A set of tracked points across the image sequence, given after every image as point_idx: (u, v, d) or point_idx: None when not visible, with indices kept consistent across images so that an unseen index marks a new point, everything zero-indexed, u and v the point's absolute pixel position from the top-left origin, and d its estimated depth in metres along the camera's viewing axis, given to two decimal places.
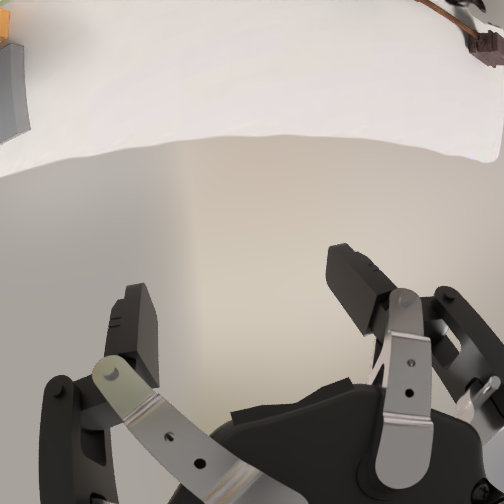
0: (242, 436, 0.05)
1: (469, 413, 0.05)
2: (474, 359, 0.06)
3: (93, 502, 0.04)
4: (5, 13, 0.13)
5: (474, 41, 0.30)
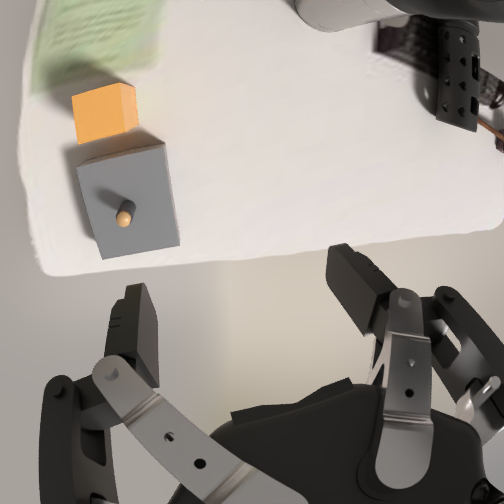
0: (242, 436, 0.05)
1: (469, 413, 0.05)
2: (474, 359, 0.06)
3: (93, 502, 0.04)
4: (133, 91, 0.28)
5: (502, 140, 0.46)
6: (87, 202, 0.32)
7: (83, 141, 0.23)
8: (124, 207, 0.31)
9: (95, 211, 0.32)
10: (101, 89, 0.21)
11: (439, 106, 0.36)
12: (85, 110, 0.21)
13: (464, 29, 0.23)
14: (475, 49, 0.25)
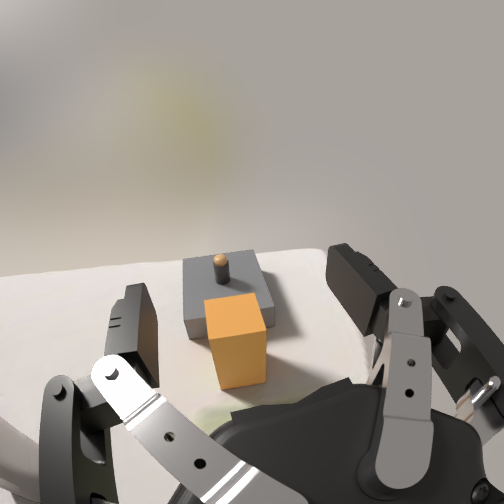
0: (242, 436, 0.05)
1: (469, 413, 0.05)
2: (474, 359, 0.06)
3: (93, 502, 0.04)
4: None
5: None
6: (262, 282, 0.40)
7: (248, 294, 0.29)
8: (220, 270, 0.38)
9: (254, 277, 0.41)
10: (229, 334, 0.25)
11: None
12: (247, 317, 0.26)
13: None
14: None
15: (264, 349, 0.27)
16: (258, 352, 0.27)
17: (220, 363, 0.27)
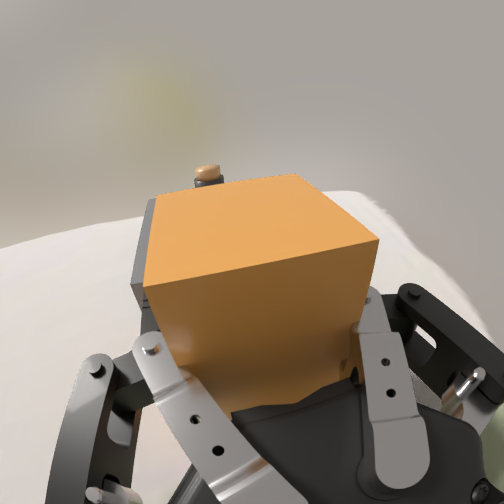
0: (242, 436, 0.05)
1: (458, 407, 0.05)
2: (452, 354, 0.06)
3: (105, 483, 0.04)
4: None
5: None
6: None
7: (281, 176, 0.10)
8: None
9: None
10: (236, 261, 0.06)
11: None
12: (295, 212, 0.08)
13: None
14: None
15: None
16: (334, 339, 0.08)
17: (208, 387, 0.08)
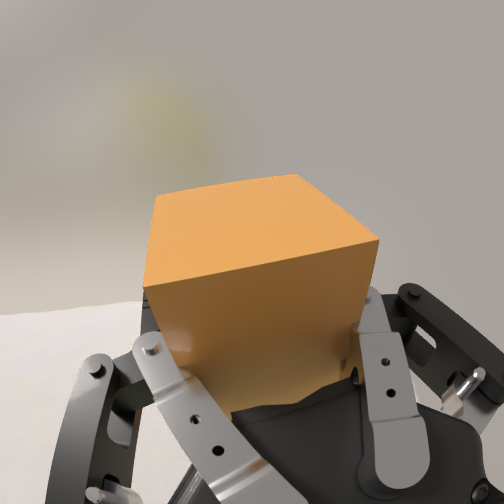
0: (242, 436, 0.05)
1: (458, 408, 0.05)
2: (452, 354, 0.06)
3: (105, 483, 0.04)
4: None
5: None
6: None
7: (281, 177, 0.10)
8: None
9: None
10: (237, 262, 0.06)
11: None
12: (295, 213, 0.08)
13: None
14: None
15: None
16: (334, 339, 0.08)
17: (209, 387, 0.08)
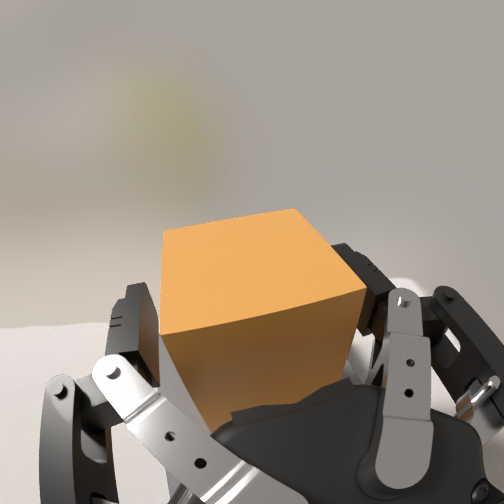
0: (242, 436, 0.05)
1: (469, 413, 0.05)
2: (473, 359, 0.06)
3: (93, 501, 0.04)
4: None
5: None
6: None
7: (281, 212, 0.11)
8: None
9: None
10: (240, 312, 0.07)
11: None
12: (292, 258, 0.08)
13: None
14: None
15: (343, 355, 0.09)
16: (326, 366, 0.09)
17: (215, 407, 0.08)
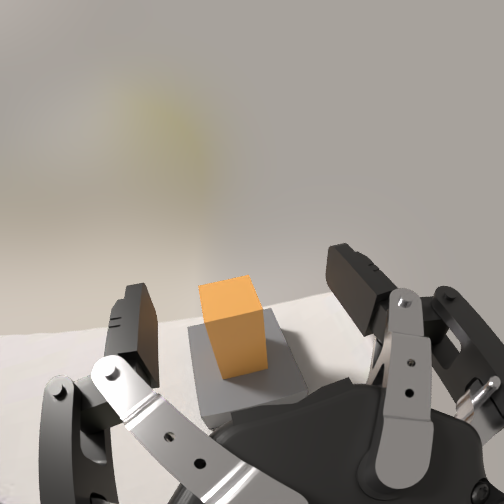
0: (242, 436, 0.05)
1: (469, 413, 0.05)
2: (474, 359, 0.06)
3: (93, 502, 0.04)
4: None
5: None
6: (289, 357, 0.31)
7: (242, 277, 0.29)
8: None
9: (279, 350, 0.32)
10: (225, 316, 0.24)
11: None
12: (242, 298, 0.26)
13: None
14: None
15: (262, 331, 0.26)
16: (257, 334, 0.26)
17: (219, 349, 0.26)
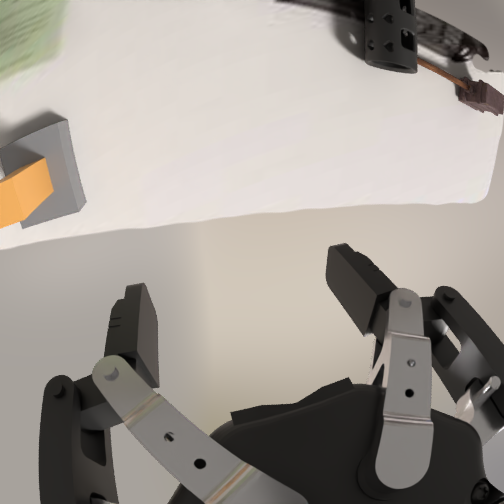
0: (242, 436, 0.05)
1: (469, 413, 0.05)
2: (474, 359, 0.06)
3: (93, 502, 0.04)
4: (42, 164, 0.28)
5: (464, 89, 0.40)
6: None
7: (0, 227, 0.23)
8: None
9: None
10: (1, 184, 0.21)
11: (366, 47, 0.32)
12: None
13: None
14: None
15: None
16: (0, 180, 0.23)
17: (23, 169, 0.24)
